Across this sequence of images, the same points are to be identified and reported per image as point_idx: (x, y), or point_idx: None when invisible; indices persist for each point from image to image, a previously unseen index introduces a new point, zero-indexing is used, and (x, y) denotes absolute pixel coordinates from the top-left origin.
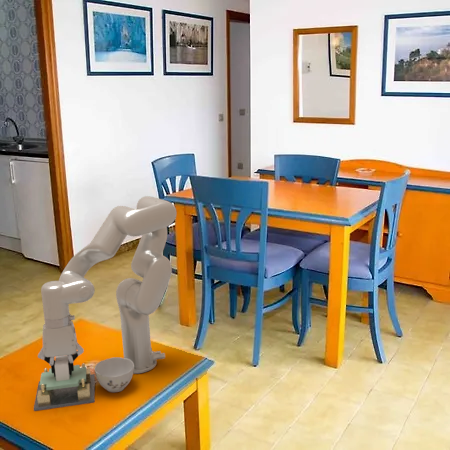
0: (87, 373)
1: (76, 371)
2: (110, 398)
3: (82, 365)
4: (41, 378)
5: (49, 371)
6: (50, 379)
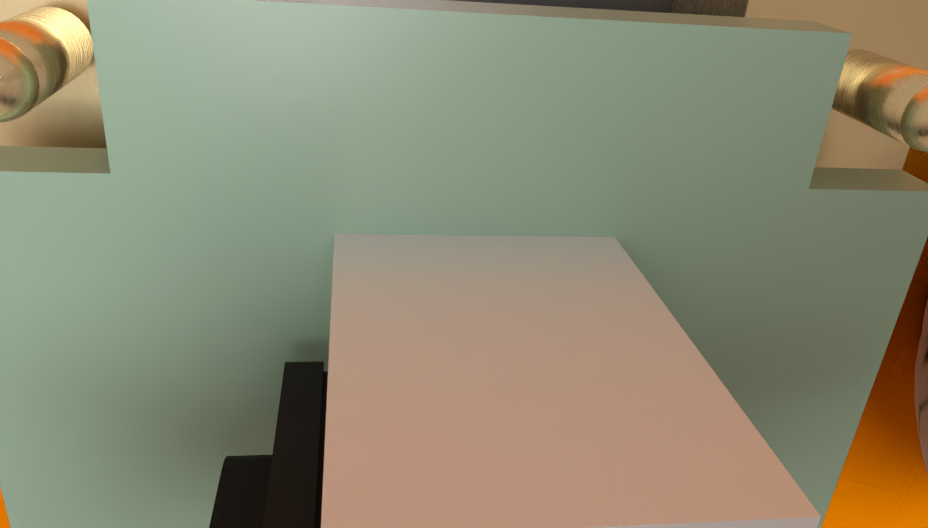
0: (865, 168)
1: (723, 312)
2: (890, 462)
3: (904, 137)
4: (3, 421)
5: (125, 162)
6: (214, 484)
